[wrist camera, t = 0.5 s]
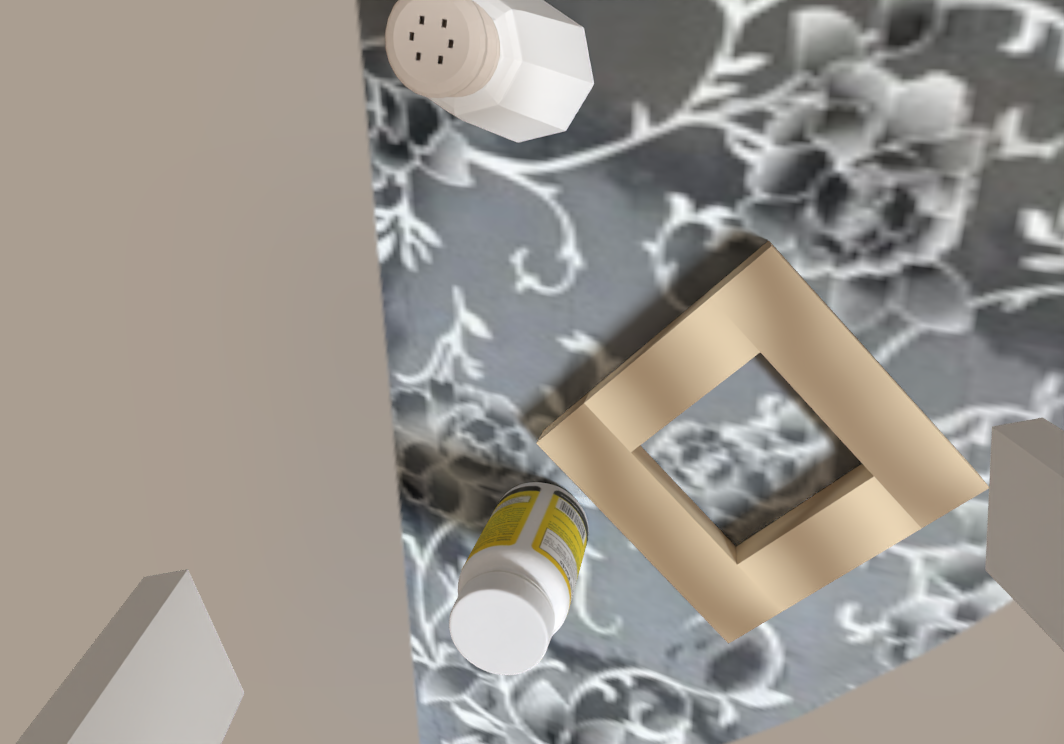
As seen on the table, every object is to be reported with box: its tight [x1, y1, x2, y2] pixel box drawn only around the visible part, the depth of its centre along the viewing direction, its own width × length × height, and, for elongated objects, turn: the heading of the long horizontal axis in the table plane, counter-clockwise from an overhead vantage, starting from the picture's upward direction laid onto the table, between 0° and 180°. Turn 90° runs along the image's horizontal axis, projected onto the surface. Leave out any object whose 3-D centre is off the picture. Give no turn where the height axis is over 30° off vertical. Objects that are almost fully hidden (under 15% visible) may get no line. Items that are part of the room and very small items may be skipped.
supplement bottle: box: [449, 482, 589, 675], centre depth 31 cm, size 5×5×8 cm
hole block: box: [537, 241, 989, 643], centre depth 31 cm, size 13×13×2 cm
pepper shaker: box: [385, 0, 594, 143], centre depth 24 cm, size 5×5×11 cm
